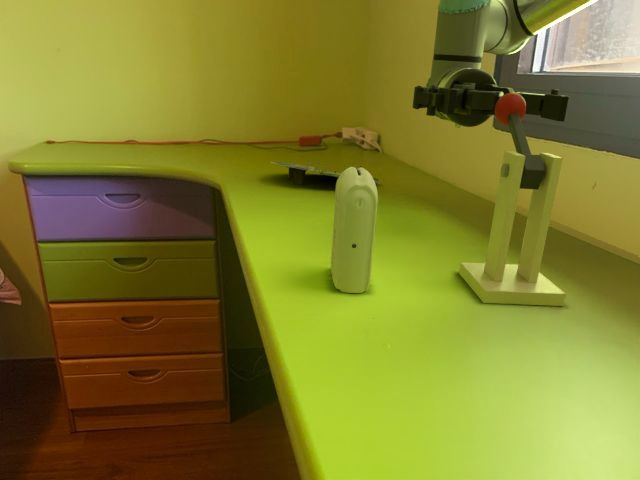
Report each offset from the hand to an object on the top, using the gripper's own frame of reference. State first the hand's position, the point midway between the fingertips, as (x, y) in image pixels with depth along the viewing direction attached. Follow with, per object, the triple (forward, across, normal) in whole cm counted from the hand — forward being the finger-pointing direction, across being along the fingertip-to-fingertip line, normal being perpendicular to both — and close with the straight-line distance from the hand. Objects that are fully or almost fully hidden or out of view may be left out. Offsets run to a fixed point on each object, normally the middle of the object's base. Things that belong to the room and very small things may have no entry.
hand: (508, 105), depth 82 cm
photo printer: (+11, +19, -19) cm, 29 cm away
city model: (-62, +18, -19) cm, 67 cm away
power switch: (+12, 0, -19) cm, 22 cm away
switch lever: (+5, 0, -5) cm, 7 cm away
